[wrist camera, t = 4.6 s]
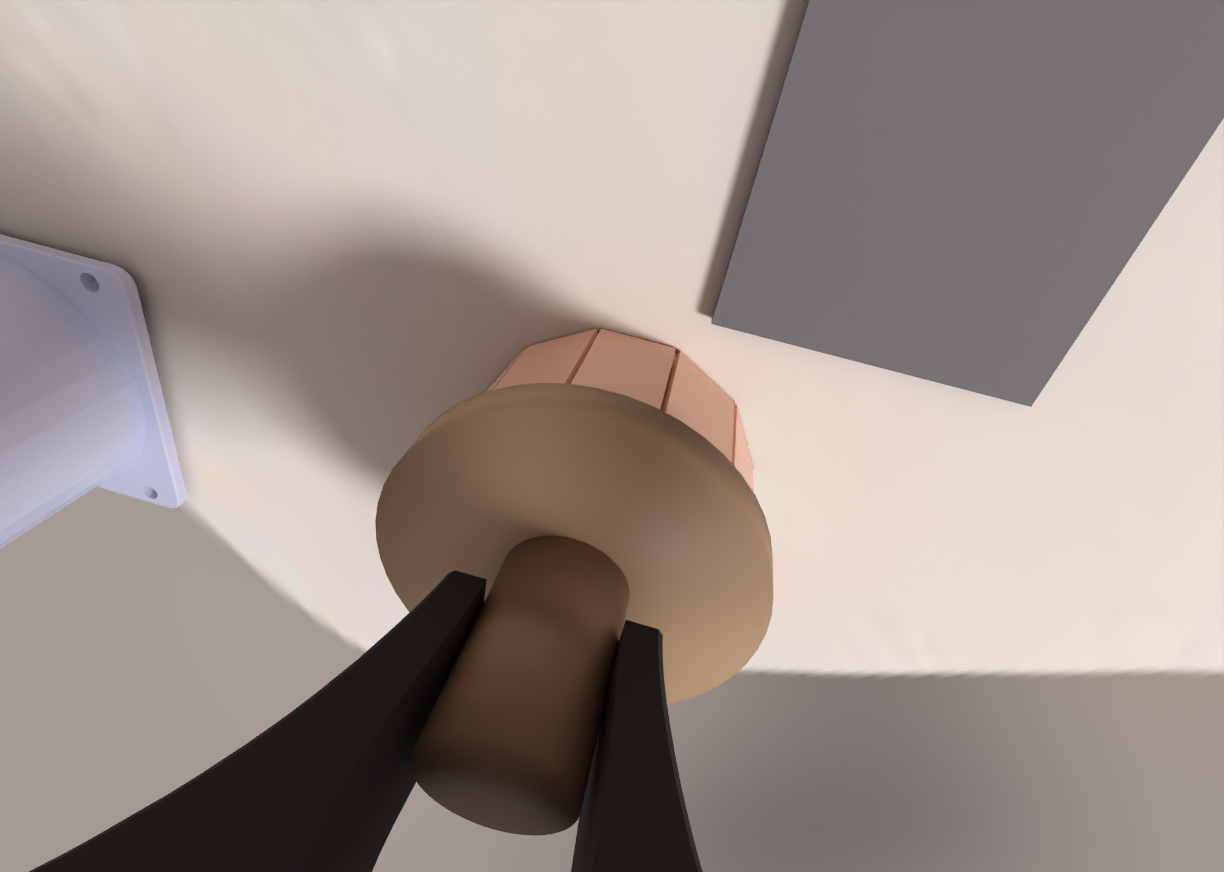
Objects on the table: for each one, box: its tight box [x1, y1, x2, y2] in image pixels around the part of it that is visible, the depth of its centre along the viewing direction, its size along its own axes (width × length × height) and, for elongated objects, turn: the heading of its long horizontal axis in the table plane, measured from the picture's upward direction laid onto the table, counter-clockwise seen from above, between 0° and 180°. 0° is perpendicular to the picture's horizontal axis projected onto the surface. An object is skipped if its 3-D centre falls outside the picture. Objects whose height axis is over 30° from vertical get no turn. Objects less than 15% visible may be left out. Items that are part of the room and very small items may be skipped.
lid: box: [376, 383, 773, 835], centre depth 11 cm, size 8×8×5 cm
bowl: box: [486, 329, 753, 491], centre depth 15 cm, size 7×7×3 cm
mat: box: [711, 0, 1224, 407], centre depth 11 cm, size 7×7×1 cm
